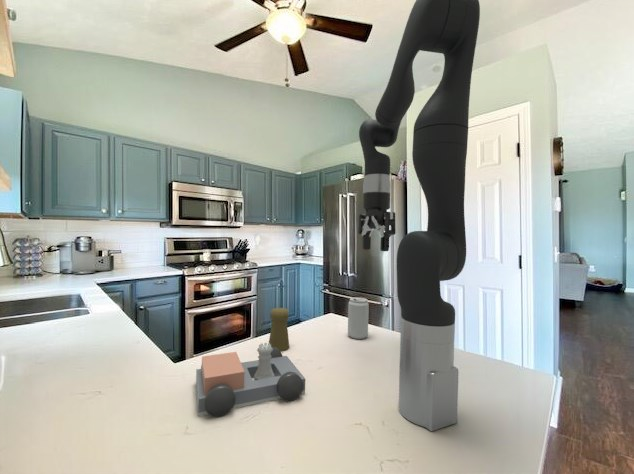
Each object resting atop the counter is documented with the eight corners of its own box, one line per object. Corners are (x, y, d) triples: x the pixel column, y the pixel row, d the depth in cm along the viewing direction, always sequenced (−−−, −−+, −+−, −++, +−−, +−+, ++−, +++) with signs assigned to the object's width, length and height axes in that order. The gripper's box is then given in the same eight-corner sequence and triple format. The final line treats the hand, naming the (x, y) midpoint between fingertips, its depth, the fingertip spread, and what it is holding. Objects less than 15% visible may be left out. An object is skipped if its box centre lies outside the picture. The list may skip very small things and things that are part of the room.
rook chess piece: (277, 378, 64) (278, 341, 64) (271, 389, 59) (272, 349, 59) (257, 377, 64) (258, 340, 64) (250, 387, 60) (251, 348, 60)
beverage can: (343, 334, 95) (344, 297, 95) (360, 332, 98) (361, 296, 98) (354, 341, 89) (355, 301, 89) (371, 338, 92) (372, 300, 92)
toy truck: (308, 397, 58) (308, 367, 58) (198, 421, 50) (199, 386, 50) (284, 365, 72) (284, 340, 72) (195, 380, 64) (196, 352, 64)
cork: (278, 353, 79) (279, 312, 79) (263, 347, 82) (264, 308, 82) (293, 347, 84) (294, 308, 83) (278, 341, 87) (279, 304, 87)
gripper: (404, 190, 77) (402, 252, 78) (373, 196, 90) (371, 249, 91) (381, 187, 74) (379, 252, 74) (351, 194, 87) (350, 248, 87)
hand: (375, 250), depth 82 cm, fingers open, 8 cm apart
